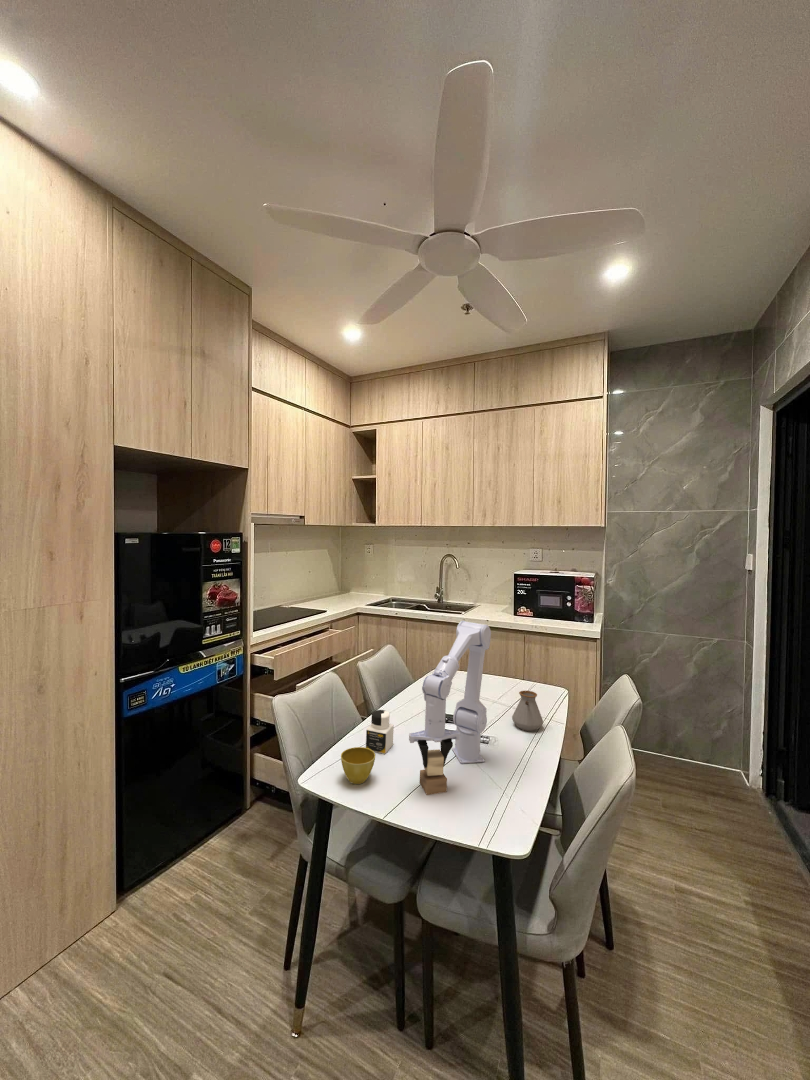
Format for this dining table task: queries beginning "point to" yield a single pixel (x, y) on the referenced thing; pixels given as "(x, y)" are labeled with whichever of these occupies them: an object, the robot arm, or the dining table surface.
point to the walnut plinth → (433, 783)
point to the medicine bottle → (379, 732)
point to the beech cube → (434, 763)
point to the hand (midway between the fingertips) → (433, 765)
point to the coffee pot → (527, 712)
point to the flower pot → (357, 764)
